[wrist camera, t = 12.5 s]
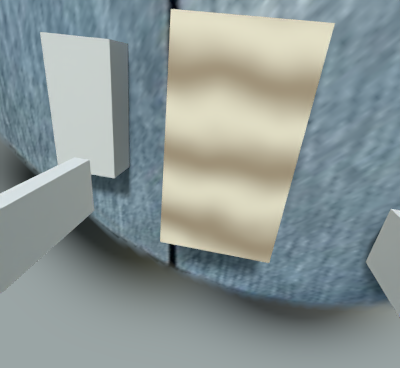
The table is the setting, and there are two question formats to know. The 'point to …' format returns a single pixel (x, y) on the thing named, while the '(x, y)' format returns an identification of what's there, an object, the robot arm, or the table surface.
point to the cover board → (235, 126)
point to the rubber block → (89, 100)
